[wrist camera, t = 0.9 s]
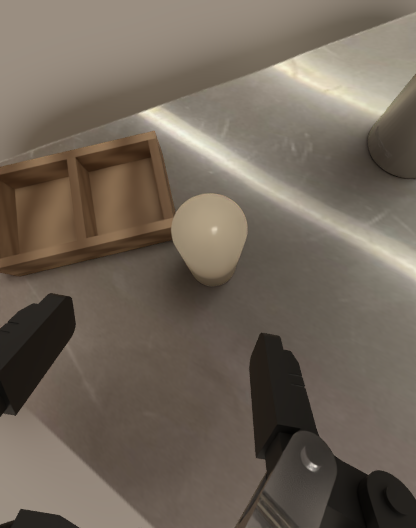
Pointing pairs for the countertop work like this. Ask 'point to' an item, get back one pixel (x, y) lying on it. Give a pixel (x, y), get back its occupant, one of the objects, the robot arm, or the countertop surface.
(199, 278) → the cream pillar candle
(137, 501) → the countertop surface
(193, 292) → the countertop surface
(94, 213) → the wooden divided tray
